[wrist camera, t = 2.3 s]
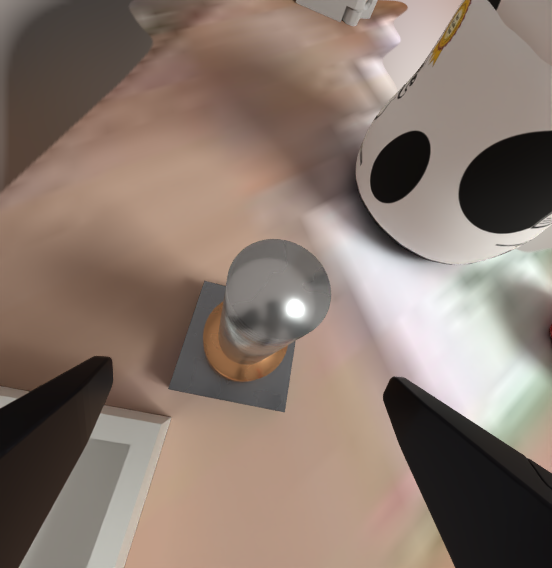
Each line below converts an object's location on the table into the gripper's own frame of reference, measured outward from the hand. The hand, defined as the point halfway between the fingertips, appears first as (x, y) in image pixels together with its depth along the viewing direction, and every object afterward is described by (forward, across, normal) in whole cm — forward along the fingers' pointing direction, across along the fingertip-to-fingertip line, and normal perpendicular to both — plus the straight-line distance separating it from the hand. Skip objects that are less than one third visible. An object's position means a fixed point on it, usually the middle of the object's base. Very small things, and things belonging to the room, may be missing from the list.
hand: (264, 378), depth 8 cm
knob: (+8, 0, +4) cm, 9 cm away
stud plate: (+9, 0, +5) cm, 10 cm away
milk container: (+21, -18, -6) cm, 28 cm away
